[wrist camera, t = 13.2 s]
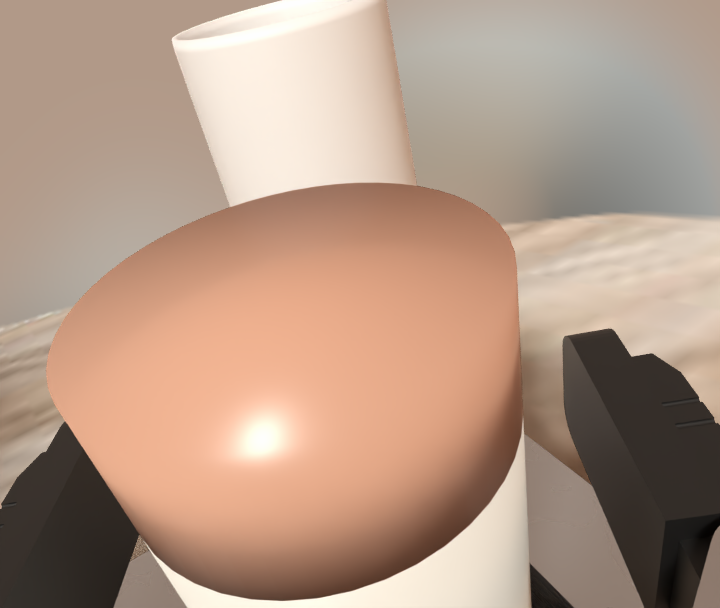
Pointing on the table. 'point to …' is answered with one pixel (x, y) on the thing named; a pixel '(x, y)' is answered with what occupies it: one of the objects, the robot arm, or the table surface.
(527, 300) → the table surface
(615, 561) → the socket
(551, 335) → the table surface
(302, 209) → the peg
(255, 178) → the cup
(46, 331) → the table surface
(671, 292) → the table surface
